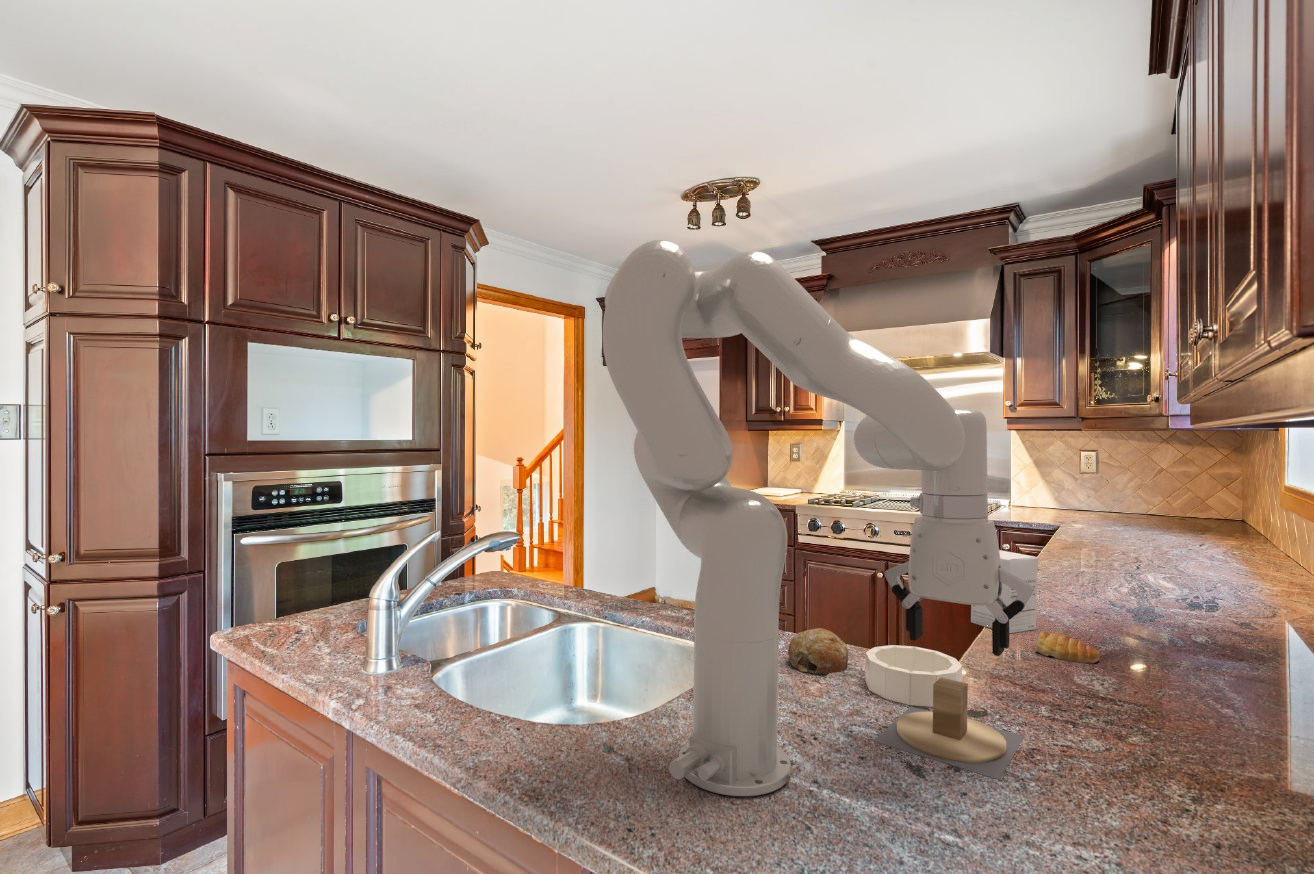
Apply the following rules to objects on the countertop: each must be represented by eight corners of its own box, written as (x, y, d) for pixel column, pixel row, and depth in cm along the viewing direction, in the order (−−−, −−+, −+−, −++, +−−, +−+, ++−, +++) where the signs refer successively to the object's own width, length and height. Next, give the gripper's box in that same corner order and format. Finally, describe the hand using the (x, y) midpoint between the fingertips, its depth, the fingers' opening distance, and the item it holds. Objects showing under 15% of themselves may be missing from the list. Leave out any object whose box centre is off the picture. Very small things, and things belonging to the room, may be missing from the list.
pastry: (1102, 659, 115) (1102, 637, 115) (1095, 669, 110) (1095, 646, 110) (1042, 647, 122) (1042, 626, 122) (1032, 656, 117) (1033, 634, 117)
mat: (999, 785, 71) (999, 779, 71) (873, 745, 80) (873, 740, 80) (1024, 740, 82) (1024, 736, 82) (910, 710, 91) (910, 706, 91)
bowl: (945, 718, 88) (946, 681, 88) (853, 693, 97) (853, 660, 97) (970, 691, 98) (970, 657, 99) (884, 670, 107) (884, 640, 107)
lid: (993, 774, 72) (994, 713, 72) (882, 740, 80) (883, 685, 80) (1015, 736, 82) (1016, 682, 82) (914, 709, 90) (915, 660, 90)
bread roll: (783, 687, 109) (778, 649, 106) (799, 646, 117) (794, 609, 114) (843, 699, 104) (839, 660, 101) (855, 655, 112) (852, 617, 109)
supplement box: (969, 622, 137) (969, 551, 137) (998, 618, 141) (999, 549, 141) (1008, 634, 129) (1009, 558, 129) (1038, 629, 133) (1039, 556, 133)
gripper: (874, 507, 84) (876, 639, 84) (1027, 515, 73) (1029, 668, 73) (894, 502, 90) (896, 626, 90) (1038, 509, 79) (1040, 651, 79)
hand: (955, 645), depth 81 cm, fingers open, 9 cm apart
